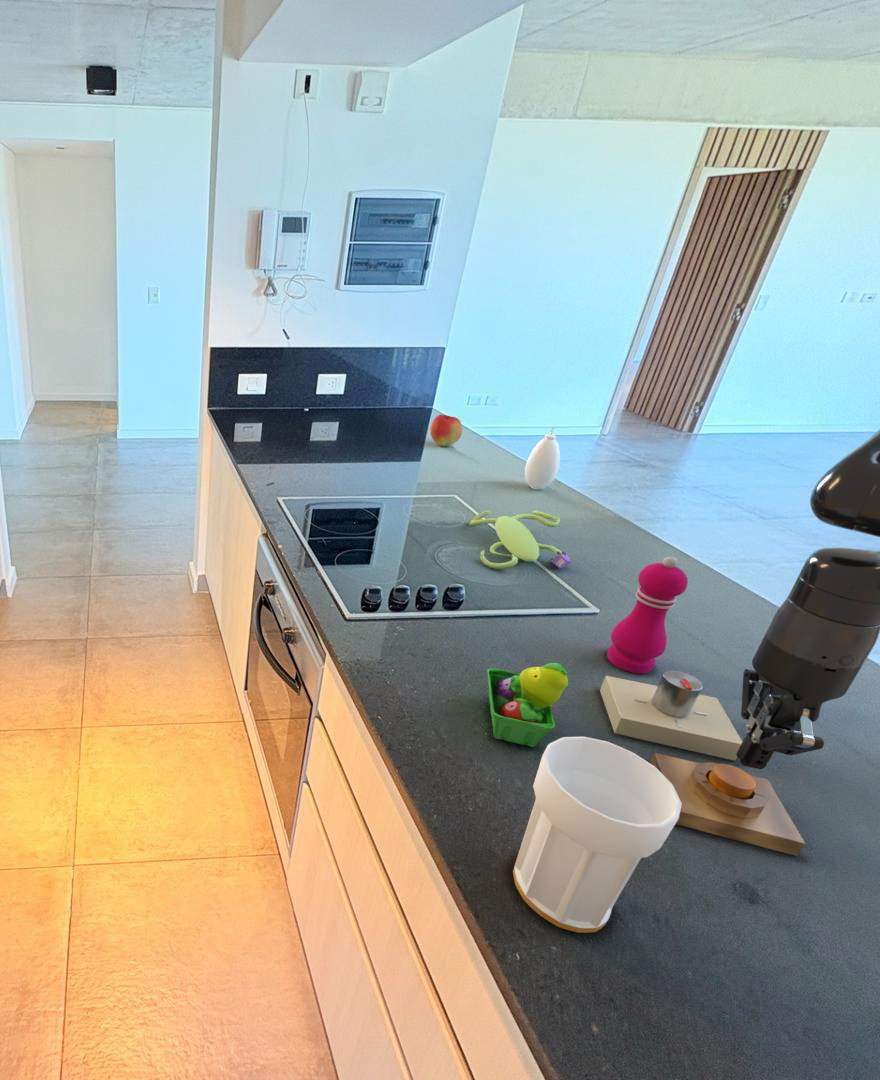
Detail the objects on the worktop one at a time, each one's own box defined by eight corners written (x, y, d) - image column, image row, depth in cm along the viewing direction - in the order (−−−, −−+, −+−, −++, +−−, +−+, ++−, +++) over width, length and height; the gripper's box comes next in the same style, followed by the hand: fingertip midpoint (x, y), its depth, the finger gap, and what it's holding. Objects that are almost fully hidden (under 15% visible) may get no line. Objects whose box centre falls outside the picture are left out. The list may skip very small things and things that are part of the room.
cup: (523, 935, 63) (571, 819, 56) (488, 839, 73) (525, 730, 66) (643, 952, 62) (711, 835, 54) (591, 852, 72) (642, 741, 64)
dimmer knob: (646, 694, 91) (659, 665, 89) (682, 700, 90) (695, 671, 88) (657, 714, 88) (671, 684, 85) (694, 720, 86) (709, 691, 84)
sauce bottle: (551, 495, 167) (570, 431, 159) (519, 490, 171) (536, 427, 163) (552, 486, 173) (571, 424, 165) (521, 481, 177) (537, 420, 168)
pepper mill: (594, 656, 104) (633, 552, 95) (618, 644, 107) (659, 542, 98) (640, 681, 99) (686, 573, 90) (664, 667, 101) (712, 561, 92)
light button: (742, 779, 76) (748, 768, 76) (755, 803, 73) (762, 793, 72) (703, 769, 78) (708, 759, 77) (714, 793, 75) (720, 783, 74)
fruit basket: (479, 692, 97) (496, 633, 92) (543, 705, 94) (564, 645, 89) (484, 742, 87) (503, 679, 82) (556, 759, 84) (580, 695, 79)
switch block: (760, 791, 79) (773, 768, 77) (797, 856, 71) (813, 833, 69) (648, 764, 83) (659, 742, 82) (671, 823, 75) (683, 800, 73)
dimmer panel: (709, 713, 92) (717, 696, 90) (735, 761, 84) (745, 743, 82) (599, 690, 97) (606, 674, 95) (614, 733, 88) (621, 716, 87)
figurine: (549, 528, 149) (555, 507, 146) (579, 582, 126) (587, 558, 124) (466, 519, 154) (471, 498, 151) (480, 569, 131) (486, 546, 129)
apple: (428, 448, 204) (434, 418, 200) (427, 439, 212) (432, 411, 208) (460, 450, 201) (466, 420, 197) (457, 442, 210) (463, 413, 205)
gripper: (744, 605, 72) (691, 718, 80) (800, 673, 61) (732, 796, 69) (827, 617, 70) (763, 733, 77) (901, 690, 59) (818, 816, 66)
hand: (749, 763), depth 73 cm, fingers closed
